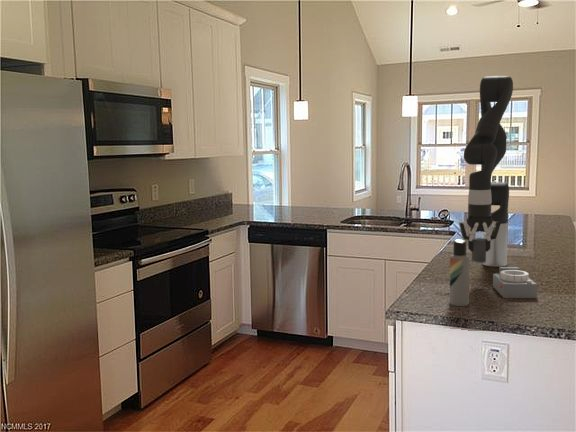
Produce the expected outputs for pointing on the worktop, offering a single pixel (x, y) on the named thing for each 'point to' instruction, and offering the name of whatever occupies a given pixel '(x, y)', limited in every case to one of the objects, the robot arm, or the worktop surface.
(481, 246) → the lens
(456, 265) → the lotion bottle
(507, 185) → the robot arm
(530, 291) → the camera body
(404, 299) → the worktop surface
